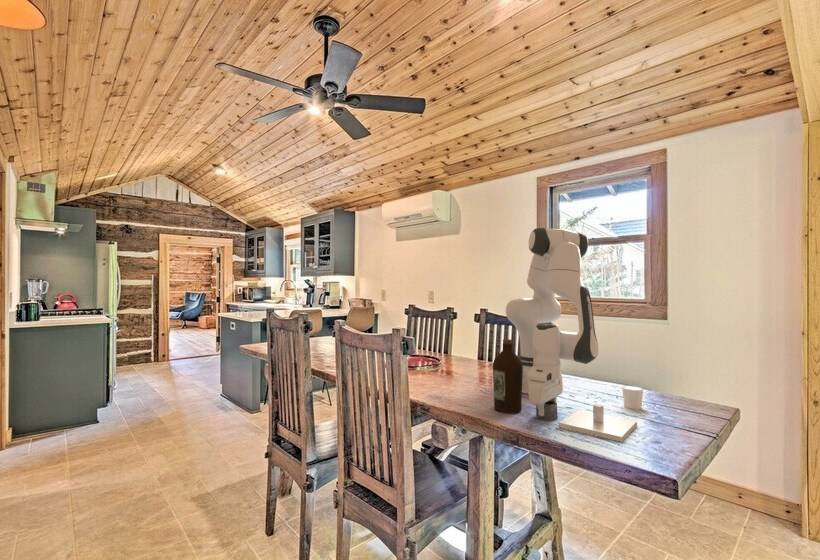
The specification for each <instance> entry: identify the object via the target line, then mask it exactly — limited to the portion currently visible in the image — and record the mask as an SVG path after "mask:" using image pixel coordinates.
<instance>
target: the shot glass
mask: <svg viewBox="0 0 820 560" xmlns="http://www.w3.org/2000/svg"><path fill="white" fill-rule="evenodd" d="M621 388H622V389H621V390H622V398H623V399H622V400H623V401H622V402H623V407H624V408H625V409H626V408H627V409H631V410H641V409H642V407H643V398H644V397H643V395H644V388H642V387H640V386H634V385H624V386H623V385H622V386H621Z"/></svg>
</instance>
